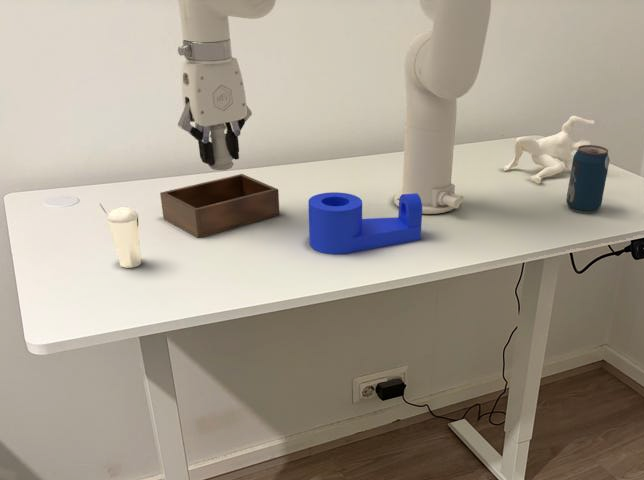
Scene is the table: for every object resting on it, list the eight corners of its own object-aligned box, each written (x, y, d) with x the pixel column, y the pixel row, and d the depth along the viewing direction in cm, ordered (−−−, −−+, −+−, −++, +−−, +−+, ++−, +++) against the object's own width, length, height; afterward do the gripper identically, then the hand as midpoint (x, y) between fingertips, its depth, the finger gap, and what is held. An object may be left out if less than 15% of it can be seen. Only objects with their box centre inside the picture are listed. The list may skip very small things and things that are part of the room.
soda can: (606, 209, 148) (618, 149, 142) (588, 217, 144) (599, 156, 137) (576, 200, 152) (586, 142, 146) (558, 207, 148) (568, 148, 141)
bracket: (317, 256, 122) (316, 213, 118) (303, 236, 130) (302, 194, 126) (425, 244, 129) (428, 202, 125) (406, 225, 136) (408, 185, 132)
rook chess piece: (237, 163, 133) (232, 118, 129) (229, 171, 129) (224, 125, 125) (213, 162, 133) (207, 117, 129) (205, 170, 129) (199, 124, 125)
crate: (243, 198, 145) (242, 173, 142) (279, 214, 138) (278, 189, 135) (163, 219, 134) (159, 192, 131) (198, 237, 127) (195, 210, 124)
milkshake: (114, 258, 119) (103, 198, 113) (148, 258, 119) (139, 198, 114) (107, 269, 115) (95, 208, 110) (142, 269, 115) (132, 209, 110)
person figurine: (532, 134, 153) (595, 110, 160) (495, 133, 164) (555, 111, 171) (541, 194, 159) (601, 169, 166) (504, 189, 169) (562, 166, 176)
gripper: (174, 60, 113) (190, 175, 123) (263, 48, 124) (271, 156, 133) (150, 53, 118) (167, 165, 128) (237, 42, 128) (247, 147, 138)
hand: (220, 159), depth 130 cm, fingers closed on rook chess piece, 4 cm apart
